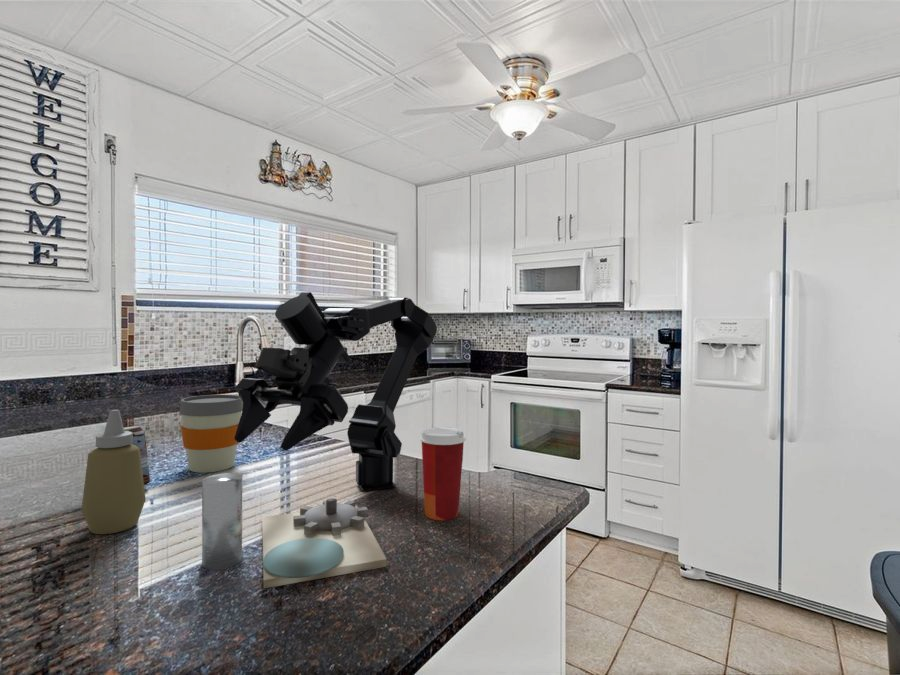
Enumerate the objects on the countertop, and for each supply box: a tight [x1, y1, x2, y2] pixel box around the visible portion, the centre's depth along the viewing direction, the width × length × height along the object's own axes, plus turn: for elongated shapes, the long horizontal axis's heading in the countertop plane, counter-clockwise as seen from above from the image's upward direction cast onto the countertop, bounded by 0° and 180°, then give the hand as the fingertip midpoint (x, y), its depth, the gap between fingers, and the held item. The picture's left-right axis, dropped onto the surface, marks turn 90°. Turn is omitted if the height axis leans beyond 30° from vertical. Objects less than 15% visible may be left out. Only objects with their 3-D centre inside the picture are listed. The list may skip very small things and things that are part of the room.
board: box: [261, 497, 388, 589], centre depth 69 cm, size 16×22×4 cm
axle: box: [201, 472, 244, 571], centre depth 63 cm, size 5×5×11 cm
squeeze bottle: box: [81, 409, 147, 535], centre depth 73 cm, size 8×8×18 cm
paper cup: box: [418, 426, 466, 522], centre depth 80 cm, size 8×8×14 cm
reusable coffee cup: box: [179, 394, 243, 473], centre depth 105 cm, size 13×12×15 cm
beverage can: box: [124, 425, 151, 488], centre depth 89 cm, size 6×7×12 cm
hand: (259, 444), depth 68 cm, fingers open, 9 cm apart
